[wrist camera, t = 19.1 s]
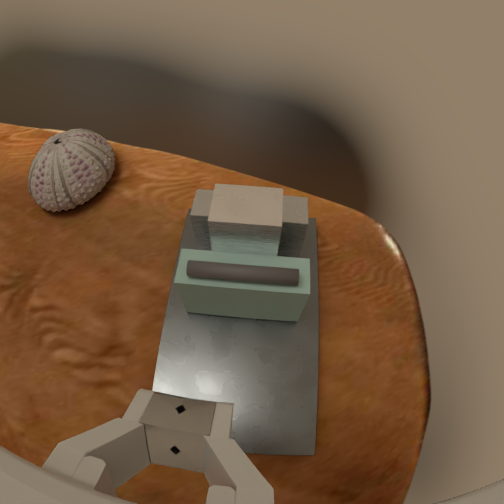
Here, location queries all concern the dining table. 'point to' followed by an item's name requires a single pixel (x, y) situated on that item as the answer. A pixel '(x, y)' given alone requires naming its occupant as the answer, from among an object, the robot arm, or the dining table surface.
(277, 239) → the block
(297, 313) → the sliding jaw
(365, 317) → the dining table surface
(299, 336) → the vise
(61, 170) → the sea urchin shell
